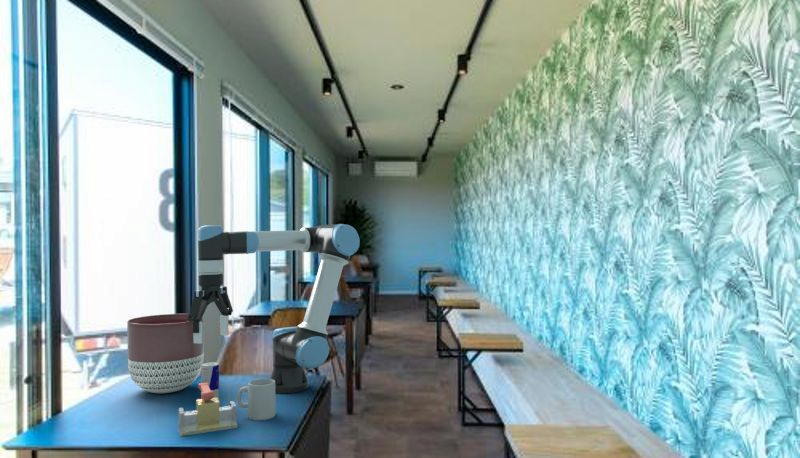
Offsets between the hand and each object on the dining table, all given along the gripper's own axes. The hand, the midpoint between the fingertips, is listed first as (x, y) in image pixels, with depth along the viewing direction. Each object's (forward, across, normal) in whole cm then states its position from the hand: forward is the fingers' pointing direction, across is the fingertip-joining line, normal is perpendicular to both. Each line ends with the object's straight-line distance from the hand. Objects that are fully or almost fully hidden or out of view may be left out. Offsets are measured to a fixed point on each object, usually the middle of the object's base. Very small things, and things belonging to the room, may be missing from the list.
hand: (211, 339), depth 177 cm
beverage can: (+25, -6, -5) cm, 26 cm away
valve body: (+24, +10, +6) cm, 27 cm away
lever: (+16, +6, +2) cm, 17 cm away
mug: (+25, -4, +14) cm, 29 cm away
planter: (+25, -20, -35) cm, 47 cm away
